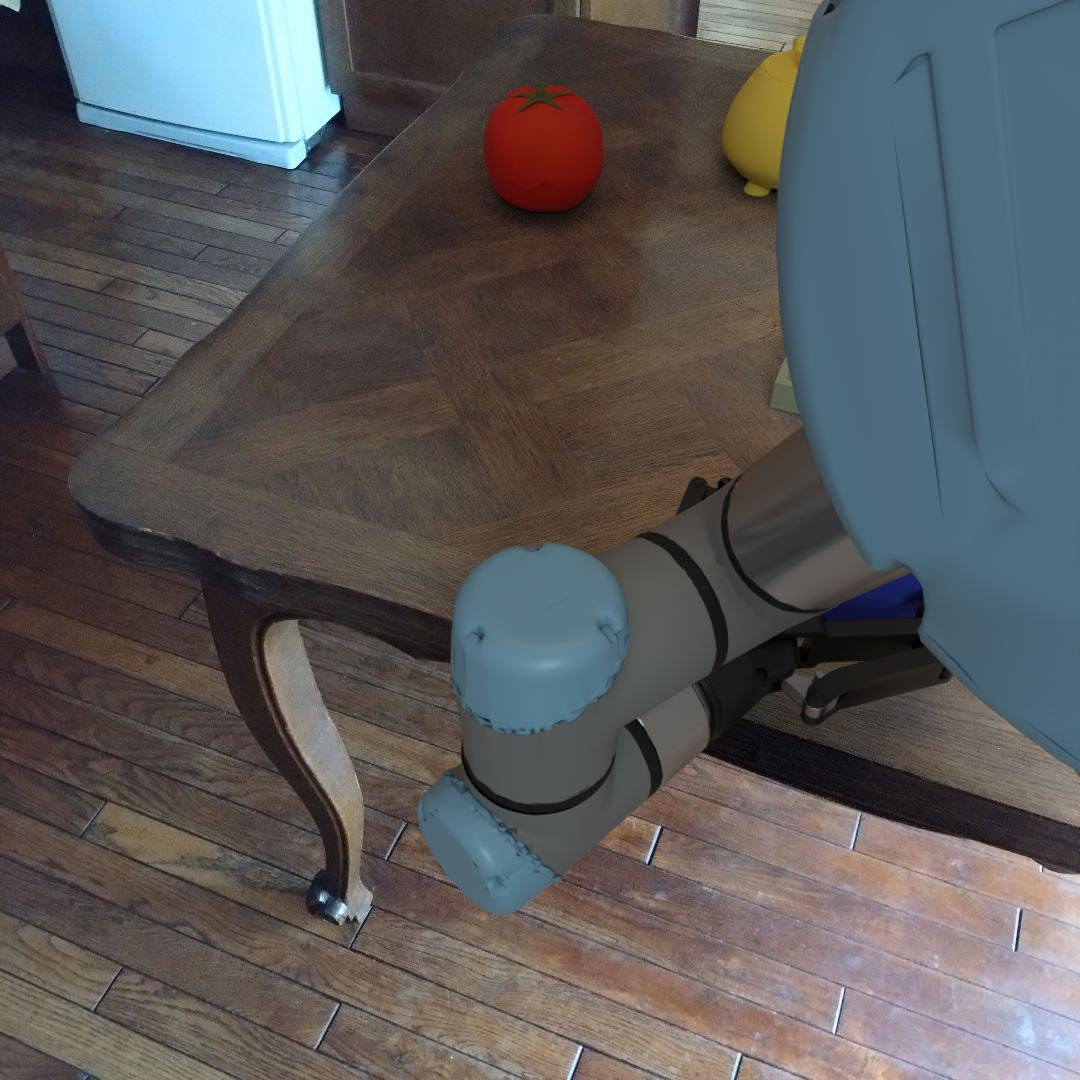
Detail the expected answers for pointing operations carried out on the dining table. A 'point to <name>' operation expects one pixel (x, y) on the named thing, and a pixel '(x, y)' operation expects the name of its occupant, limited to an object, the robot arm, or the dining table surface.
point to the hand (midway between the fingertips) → (885, 512)
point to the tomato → (543, 148)
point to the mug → (882, 602)
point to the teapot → (762, 120)
